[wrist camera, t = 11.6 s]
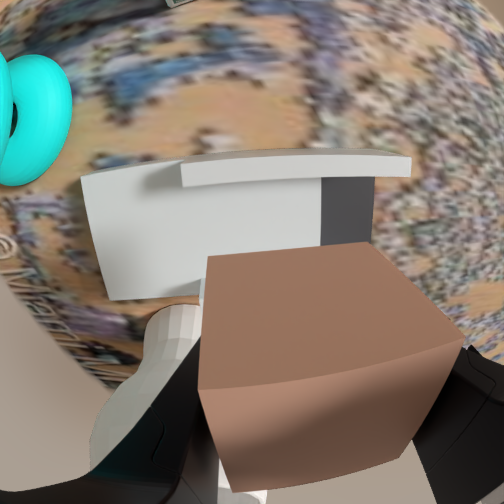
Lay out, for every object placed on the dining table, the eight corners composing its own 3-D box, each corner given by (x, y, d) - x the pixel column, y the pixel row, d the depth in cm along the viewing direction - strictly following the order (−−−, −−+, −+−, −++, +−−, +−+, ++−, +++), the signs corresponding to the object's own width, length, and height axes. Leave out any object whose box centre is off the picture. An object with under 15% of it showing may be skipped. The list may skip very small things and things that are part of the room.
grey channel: (366, 260, 23) (396, 290, 19) (119, 283, 22) (99, 320, 17) (373, 148, 20) (411, 157, 15) (95, 170, 18) (62, 184, 14)
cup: (143, 379, 26) (119, 516, 13) (118, 288, 22) (45, 450, 8) (249, 378, 27) (270, 522, 14) (250, 285, 23) (285, 469, 9)
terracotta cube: (350, 357, 11) (398, 457, 6) (225, 374, 11) (232, 493, 6) (367, 241, 9) (465, 336, 4) (207, 256, 9) (197, 390, 4)
